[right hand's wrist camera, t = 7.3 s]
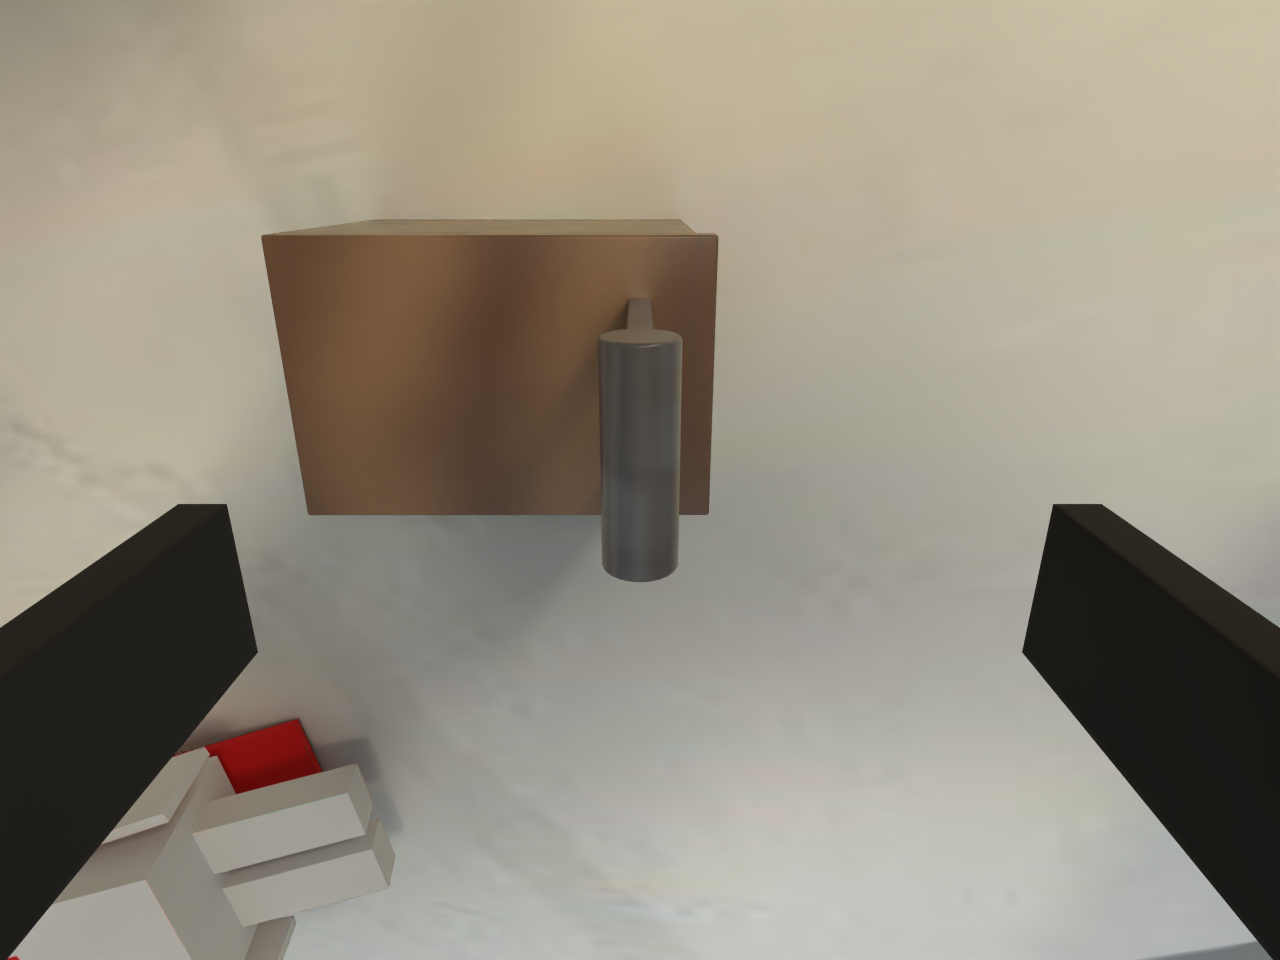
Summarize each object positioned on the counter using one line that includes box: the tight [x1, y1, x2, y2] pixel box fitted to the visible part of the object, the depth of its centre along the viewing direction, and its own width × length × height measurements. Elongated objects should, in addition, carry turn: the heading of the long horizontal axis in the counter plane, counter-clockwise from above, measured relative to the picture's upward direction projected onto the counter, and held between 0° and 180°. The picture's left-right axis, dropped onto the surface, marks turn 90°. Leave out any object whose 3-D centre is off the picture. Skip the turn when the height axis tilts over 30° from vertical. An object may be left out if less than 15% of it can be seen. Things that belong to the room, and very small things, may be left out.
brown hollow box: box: [282, 220, 696, 233], centre depth 30 cm, size 13×9×10 cm
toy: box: [7, 719, 395, 960], centre depth 39 cm, size 12×13×30 cm
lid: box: [261, 233, 718, 582], centre depth 21 cm, size 14×9×9 cm, turn 90°
